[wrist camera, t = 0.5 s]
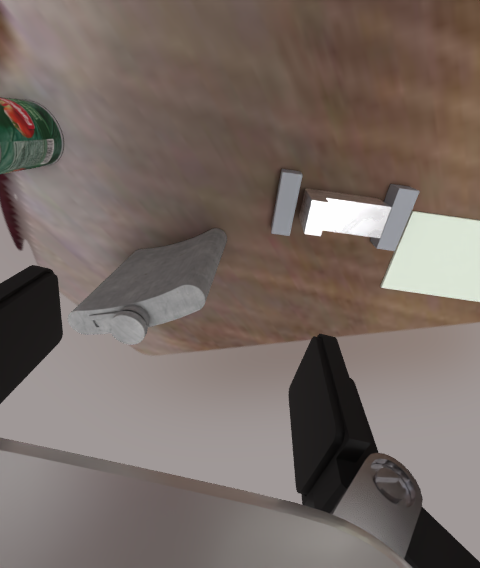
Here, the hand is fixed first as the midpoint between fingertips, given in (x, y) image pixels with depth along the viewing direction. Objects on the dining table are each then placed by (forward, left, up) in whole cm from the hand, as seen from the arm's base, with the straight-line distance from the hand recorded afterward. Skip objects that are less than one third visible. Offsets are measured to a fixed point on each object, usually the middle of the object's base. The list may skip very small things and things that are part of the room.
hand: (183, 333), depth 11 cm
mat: (+7, +31, -33) cm, 46 cm away
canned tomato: (-2, -29, -33) cm, 44 cm away
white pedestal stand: (+2, +13, -33) cm, 36 cm away
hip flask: (+12, -9, -33) cm, 37 cm away
